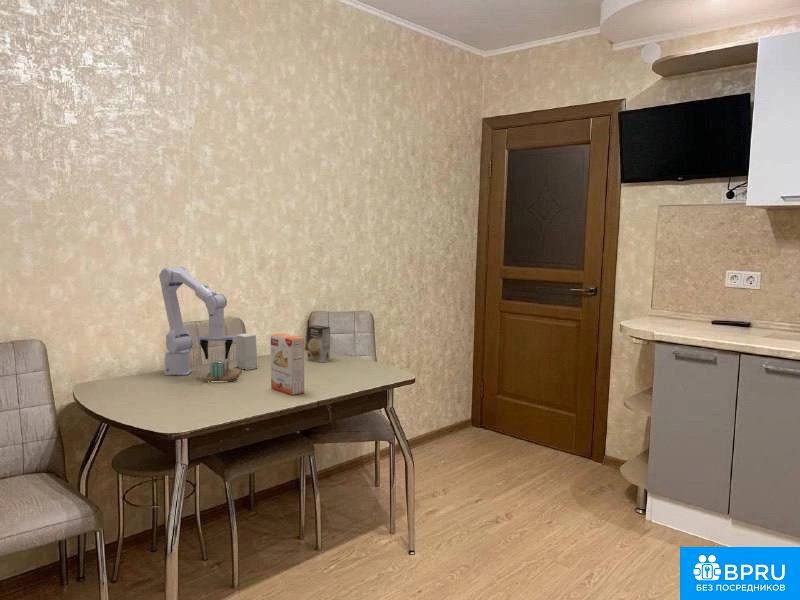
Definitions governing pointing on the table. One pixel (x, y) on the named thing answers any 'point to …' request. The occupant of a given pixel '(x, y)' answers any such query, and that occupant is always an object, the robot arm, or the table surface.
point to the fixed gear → (224, 364)
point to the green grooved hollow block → (216, 369)
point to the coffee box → (318, 344)
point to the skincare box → (246, 351)
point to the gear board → (225, 376)
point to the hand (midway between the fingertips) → (216, 358)
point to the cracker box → (287, 363)
